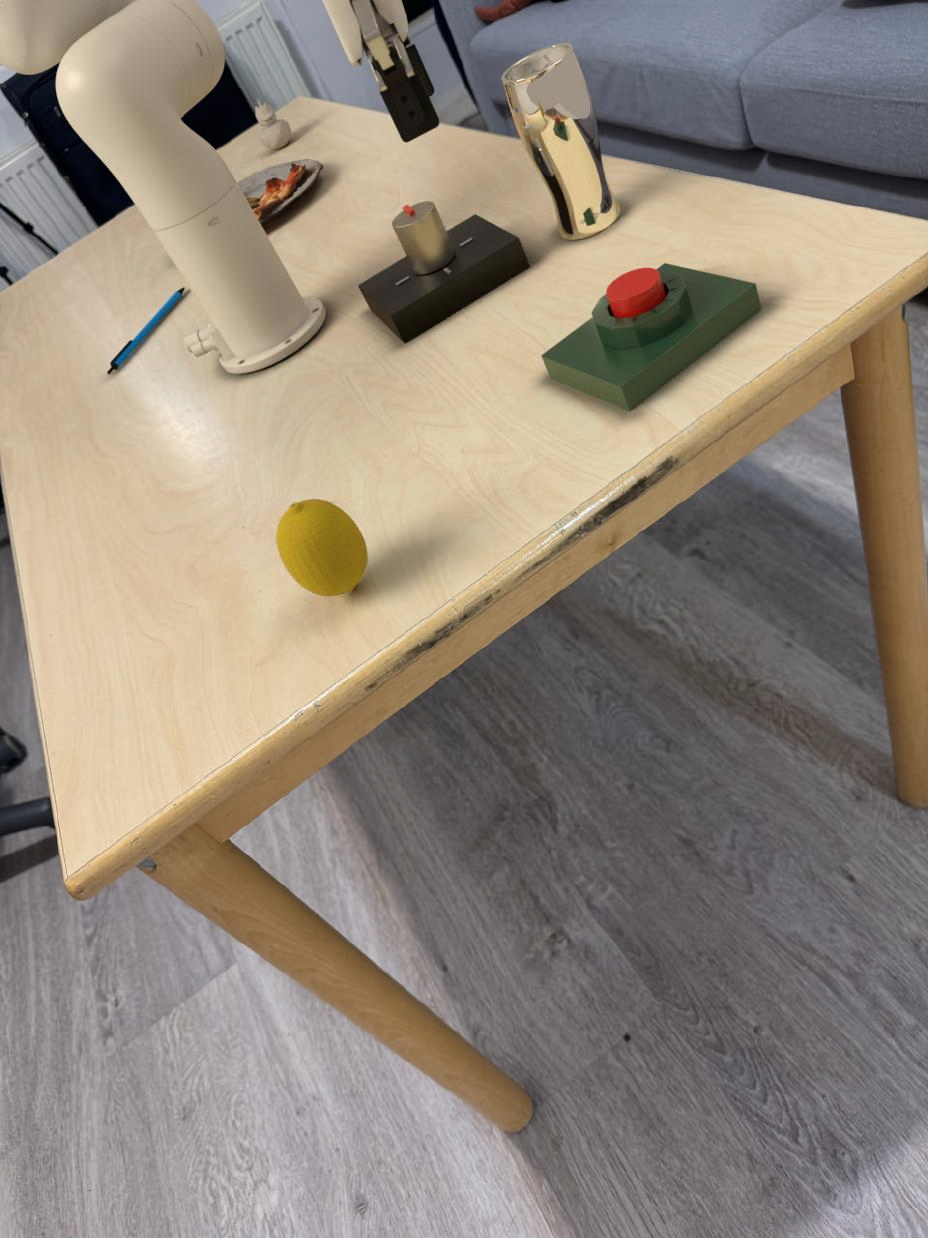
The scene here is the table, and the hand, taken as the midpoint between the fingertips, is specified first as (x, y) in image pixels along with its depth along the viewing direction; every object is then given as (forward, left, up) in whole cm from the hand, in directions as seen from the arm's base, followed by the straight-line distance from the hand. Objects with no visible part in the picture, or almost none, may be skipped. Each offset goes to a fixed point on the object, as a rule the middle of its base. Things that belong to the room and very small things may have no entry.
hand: (420, 116), depth 80 cm
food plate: (-34, +59, -17) cm, 70 cm away
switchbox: (+11, -18, -17) cm, 27 cm away
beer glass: (+10, +8, -17) cm, 21 cm away
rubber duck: (-32, +89, -17) cm, 96 cm away
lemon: (-14, -34, -17) cm, 41 cm away
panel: (-5, +7, -17) cm, 19 cm away
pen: (-45, +32, -17) cm, 58 cm away
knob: (-5, +7, -14) cm, 16 cm away
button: (+11, -18, -13) cm, 25 cm away
